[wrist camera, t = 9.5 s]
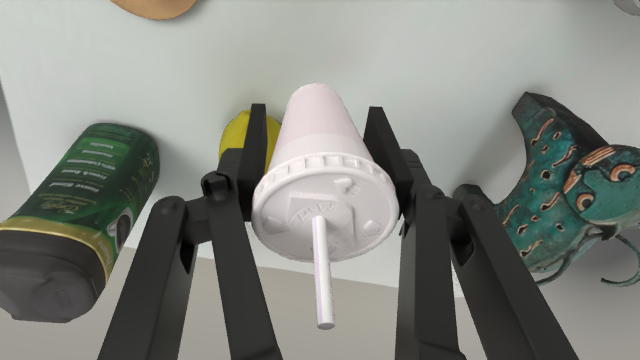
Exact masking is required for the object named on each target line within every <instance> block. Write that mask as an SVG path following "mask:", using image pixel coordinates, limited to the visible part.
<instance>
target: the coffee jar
mask: <svg viewBox="0 0 640 360" xmlns="http://www.w3.org/2000/svg"><path fill="white" fill-rule="evenodd" d="M158 177H159V156H158V151H157V147H156V145H155V143H154V142H153V140H152V139H150V138H149V137H148V136H147V135H145V134H144V133H142V132H140V131H137V130H135V129H133V128H130V127H126V126H122V125H117V124H109V123H98V124H93V125H91V126H89V127H88V128H87V129H86V130H85V131H84V132H83V133H82V134H81V135H80V137H79V138H78V139H77V140H76V141H75V142H74V144H73V145H72V146H71V147H70V149H69V150H68V151H67V153H66V154H65V155H64V157H63V158H62V159H61V160H60V162H59V163H58V164H57V165H56V167H55V168H54V169H53V170H52V172H51V173H50V174H49V175H48V176H47V177H46V179H45V180H44V181H43V182H42V183H41V185H40V186H39V187H38V188H37V189H36V191H35V192H34V193H33V194H32V195H31V196H30V198H29V199H28V200H27V201H26V202H25V203H24V204H23V205H22V207H20V209H18V211H16V213H14V214H13V215H12V216H11V217H9V218H8V219H7V220H6V221H4V222H2V223H1V224H0V307H1V308H2V309H4V310H5V311H7V312H8V313H10V314H11V316H12V318H13V319H15V320H25V321H38V322H51V323H67V322H70V321H71V320H73V319H75V318H78V317H80V316H81V315H83V314H85V313H87V312H88V311H89V310H90V309H91V308H92V307H93V306H94V304H95V303H96V301H97V299H98V298H99V296H100V295H101V293H102V291H103V290H104V288H105V285H106V284H107V282H108V279H109V277H110V274H111V272H112V270H113V267H114V265H115V262H116V260H117V258H118V255H119V253H120V251H121V249H122V247H123V245H124V243H125V241H126V239H127V237H128V236H129V234H130V232H131V230H132V228H133V226H134V224H135V222H136V221H137V219H138V217H139V215H140V213H141V211H142V209H143V207H144V206H145V204H146V202H147V200H148V198H149V197H150V195H151V193H152V191H153V189H154V187H155V185H156V183H157V181H158Z"/></svg>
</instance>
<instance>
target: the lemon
mask: <svg viewBox="0 0 640 360" xmlns="http://www.w3.org/2000/svg"><path fill="white" fill-rule="evenodd" d="M250 112H251V110H245V111H242V112H241V113H240V114H239V115H238V117H237V118H235V119H233V120H232V121H231V122H230V123H229V124H228V125H227V127H226V128H225V130H224V132H223V135H222V138H221V141H220V147H219V162H220V158H221V154H222V153H223V152H224V151H225V150H226V149H227V148H243V146H244V141H245V136H246V131H247V126H248V121H249V117H250ZM266 121H267V136H268V146H267V156H266V165H265V175H266V174H267V171H268V168H269V165H270V162H271V159H272V155H273V152H274V149H275V145H276V142H277V139H278V135H279V132H280V129H281V125H280V124H279V123H278V122H277V121H275V120H274V119H273V118H271V117H269V116H267V115H266ZM265 175H264V176H265Z"/></svg>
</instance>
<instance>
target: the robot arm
mask: <svg viewBox="0 0 640 360" xmlns="http://www.w3.org/2000/svg"><path fill="white" fill-rule="evenodd" d="M363 142H364V144H365V146H366V148H367V150H368V151H369V153H370V155H371V157H372V159H373V161H374V163H376V164H377V165H378V166H380V167H381V168H382V169H383V170H384V171H385V172H386V173H387V174H388V175H389V177H390V179H391V181H392V183H393V185H394V187H395V192H396V197H397V200H398V204H399V217H398V220H400V217H401V214H402V213H403V216H404V219H405V220H404V222H403V225H402V227H401V230H400V233H399V235H400V236H401V234H402V241H401V258H400V275H399V293H398V311H397V328H396V329H397V330H396V345H395V360H467V359H466V357H465V355H464V354H462V353H461V352H460V350H459V346H458V337H457V326H456V315H455V304H454V291H453V280H452V269H451V261H452V263H453V266H454V269H455V272H456V274H457V277H458V280H459V283H460V285H461V288H462V291H463V294H464V296H465V299H466V302H467V304H468V307H469V310H470V313H471V316H472V318H473V321H474V324H475V327H476V329H477V332H478V335H479V338H480V340H481V343H482V346H483V349H484V351H485V354H486V357H487V360H579V359H578V357H577V355H576V353H575V352H574V350H573V348H572V346H571V345H570V343H569V341H568V339H567V337H566V336H565V334H564V332H563V330H562V329H561V327H560V325H559V323H558V322H557V320H556V318H555V316H554V314H553V313H552V311H551V309H550V307H549V306H548V304H547V302H546V300H545V299H544V297H543V295H542V293H541V292H540V290H539V288H538V286H537V284H536V283H535V281H534V279H533V277H532V276H531V274H530V272H529V270H528V269H527V267H526V265H525V263H524V261H523V260H522V258H521V256H520V254H519V253H518V251H517V249H516V247H515V246H514V244H513V242H512V240H511V239H510V237H509V235H508V233H507V231H506V230H505V228H504V226H503V224H502V223H501V221H500V219H499V217H498V216H497V214H496V212H495V210H494V209H493V207H492V205H491V204H490V203H489V201H487V200H486V199H485V198H483V197H481V196H478V195H474V194H469V195H466V196H464V197H463V199H462V200H458V199H454V198H450V197H446V196H445V195H444V193H443V192H442V190H441V189H439V188H438V187H436V186H433V185H432V184H431V182H430V180H429V178H428V176H427V174H426V172H425V170H424V168H423V165H422V163H420V162H421V161H420V159H419V157H418V155H417V154H415V153H414V152H413V151H412V150H411V149H400V147H399V144H398V142H397V140H396V138H395V135H394V133H393V131H392V129H391V126H390V124H389V122H388V120H387V117H386V115H385V113H384V110H383V108H382V107H369V112H368V117H367V122H366V128H365V133H364V138H363ZM267 146H268V136H267V121H266V106H265V104H252V107H251V112H250V117H249V121H248V126H247V131H246V136H245V141H244V146H243V148H227V149H226V150H225V151H224V152H223V153H222V154H221V158H220V162H219V164H218V168H217V171H213V172H210V173H208V174H206V175H205V176H204V177H203V178H202V179H201V187H202V190H203V194H204V196H203V197H201V198H198V199H194V200H190V201H186V202H185V201H184V199H183V198H181V197H179V196H168V197H164V198H162V199H160V200H158V201H157V202H156V203H155V204H154V205H153V207H152V209H151V212H150V214H149V217H148V220H147V223H146V225H145V228H144V231H143V234H142V237H141V239H140V242H139V245H138V248H137V250H136V253H135V256H134V259H133V262H132V264H131V267H130V270H129V273H128V276H127V278H126V281H125V284H124V287H123V289H122V292H121V295H120V298H119V301H118V303H117V306H116V309H115V312H114V314H113V317H112V320H111V323H110V326H109V328H108V331H107V334H106V337H105V339H104V342H103V345H102V348H101V350H100V353H99V356H98V359H97V360H177V359H178V353H179V348H180V342H181V337H182V332H183V325H184V320H185V315H186V310H187V304H188V299H189V294H190V288H191V283H192V277H193V272H194V267H195V261H196V256H197V250H198V245H199V244H200V243H204V242H207V241H211V240H212V246H213V252H214V258H215V263H216V270H217V276H218V282H219V288H220V294H221V300H222V306H223V312H224V318H225V324H226V330H227V336H228V342H229V348H230V354H231V360H283V358H282V355H281V352H280V349H279V347H278V344H277V341H276V338H275V334H274V330H273V326H272V323H271V319H270V316H269V312H268V308H267V304H266V301H265V297H264V293H263V290H262V286H261V282H260V279H259V275H258V272H257V268H256V264H255V260H254V257H253V253H252V249H251V246H250V242H249V238H248V235H247V231H246V227H245V224H244V222H251V215H252V209H253V208H252V200H253V195H254V191H255V189H256V187H257V186H258V184H259V183H260V181H261V179H262V178H263V176H264V175H265V165H266V156H267Z"/></svg>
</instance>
